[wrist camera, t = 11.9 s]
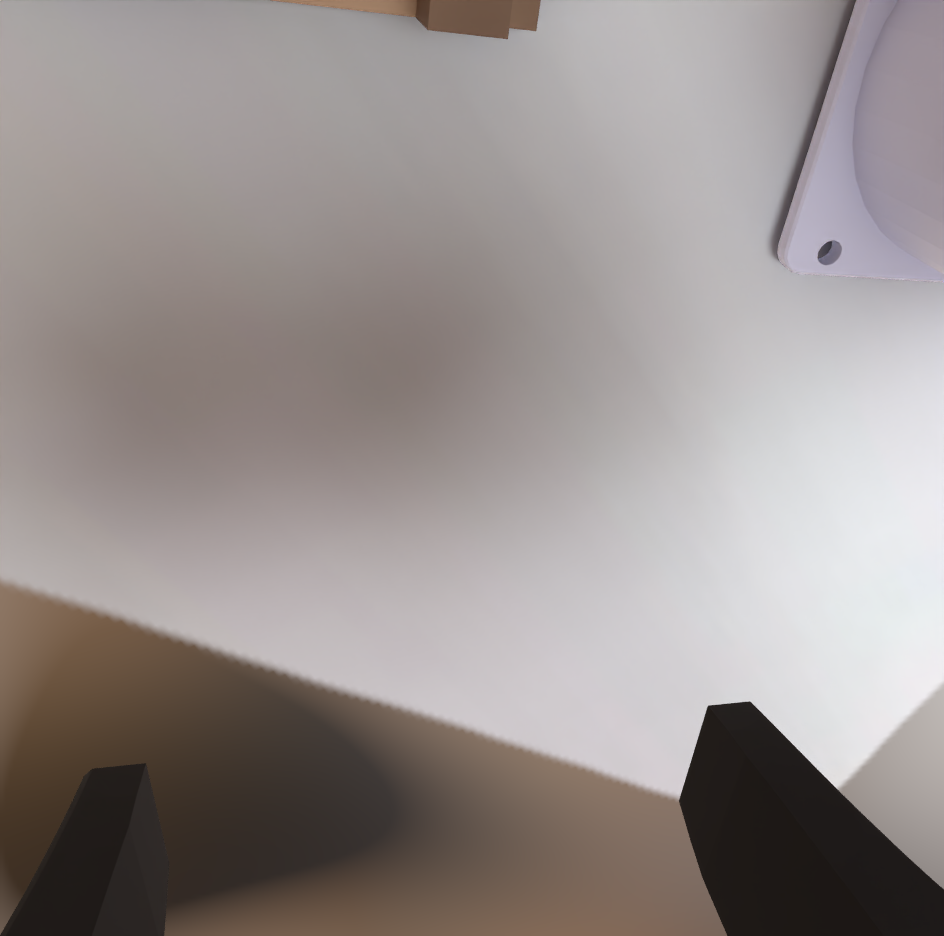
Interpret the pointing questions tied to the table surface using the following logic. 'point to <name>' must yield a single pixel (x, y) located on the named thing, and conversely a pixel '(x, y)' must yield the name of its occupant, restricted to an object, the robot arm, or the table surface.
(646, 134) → the table surface
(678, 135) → the table surface
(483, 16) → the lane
